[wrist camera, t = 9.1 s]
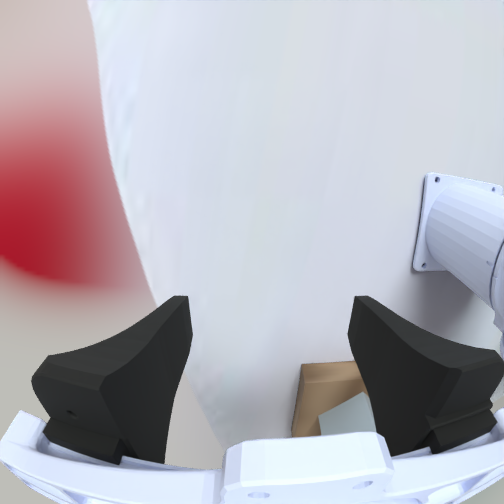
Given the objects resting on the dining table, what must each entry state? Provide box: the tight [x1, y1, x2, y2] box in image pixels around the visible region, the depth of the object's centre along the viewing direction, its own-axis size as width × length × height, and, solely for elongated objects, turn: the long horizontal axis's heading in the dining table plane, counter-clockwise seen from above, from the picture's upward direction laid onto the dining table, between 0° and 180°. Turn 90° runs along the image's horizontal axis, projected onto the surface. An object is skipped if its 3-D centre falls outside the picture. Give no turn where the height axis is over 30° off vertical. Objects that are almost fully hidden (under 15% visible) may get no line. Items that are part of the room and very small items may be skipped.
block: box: [318, 392, 376, 435], centre depth 22 cm, size 5×5×5 cm
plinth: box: [291, 361, 369, 438], centre depth 26 cm, size 11×11×2 cm
